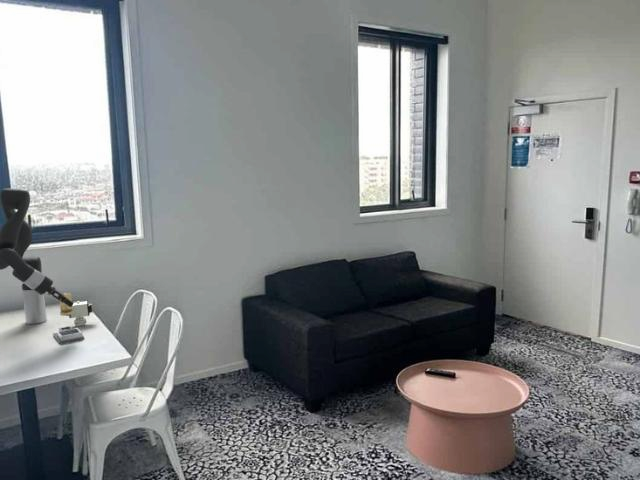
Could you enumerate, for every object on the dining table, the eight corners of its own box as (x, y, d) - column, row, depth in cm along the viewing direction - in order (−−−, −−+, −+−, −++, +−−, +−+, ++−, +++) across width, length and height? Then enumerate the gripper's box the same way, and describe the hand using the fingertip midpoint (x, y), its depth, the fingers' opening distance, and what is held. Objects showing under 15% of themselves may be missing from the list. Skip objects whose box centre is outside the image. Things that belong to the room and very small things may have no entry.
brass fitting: (59, 313, 234) (57, 294, 233) (72, 311, 237) (70, 292, 236) (61, 316, 230) (59, 296, 229) (74, 313, 233) (73, 294, 232)
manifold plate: (53, 335, 241) (52, 329, 240) (76, 331, 247) (75, 324, 246) (59, 344, 229) (59, 337, 228) (84, 339, 235) (83, 332, 234)
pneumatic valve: (93, 324, 257) (91, 300, 255) (67, 328, 252) (64, 303, 250) (93, 321, 262) (91, 298, 260) (67, 325, 257) (65, 301, 255)
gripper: (47, 277, 221) (80, 300, 230) (41, 272, 232) (73, 294, 241) (34, 291, 219) (68, 314, 227) (29, 286, 230) (61, 307, 239)
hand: (70, 304), depth 234 cm, fingers closed on brass fitting, 4 cm apart
